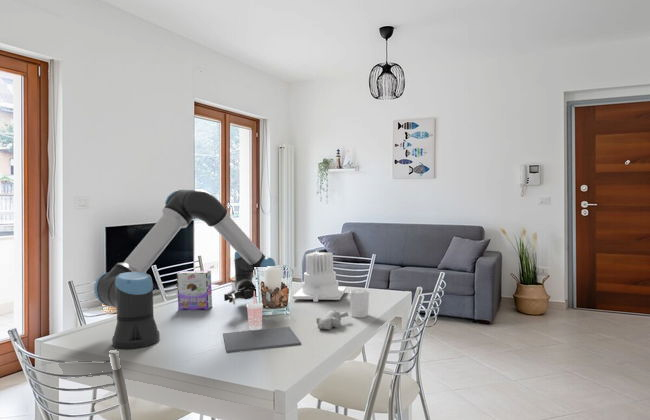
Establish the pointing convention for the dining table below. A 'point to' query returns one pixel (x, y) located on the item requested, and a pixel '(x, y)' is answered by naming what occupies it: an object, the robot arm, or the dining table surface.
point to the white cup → (359, 302)
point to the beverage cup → (255, 315)
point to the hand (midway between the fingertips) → (252, 299)
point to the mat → (260, 339)
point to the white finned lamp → (320, 279)
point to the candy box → (194, 290)
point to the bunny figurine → (330, 319)
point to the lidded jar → (233, 284)
